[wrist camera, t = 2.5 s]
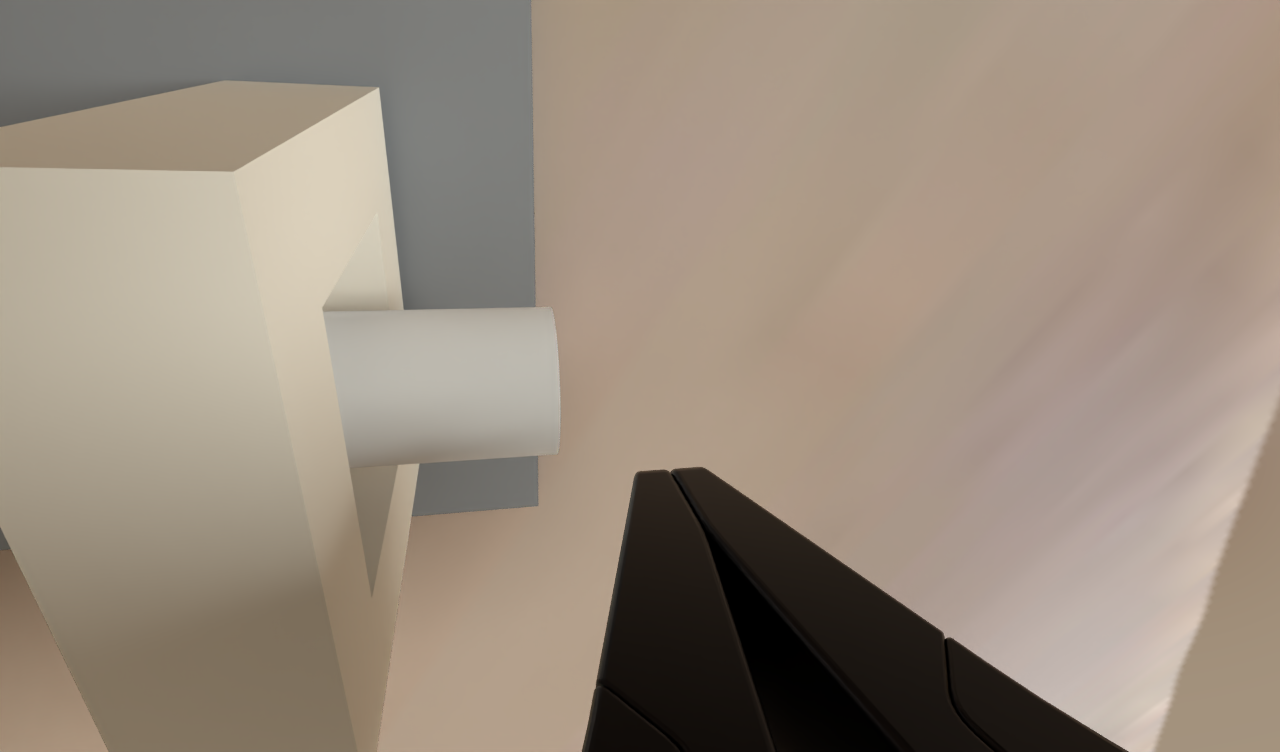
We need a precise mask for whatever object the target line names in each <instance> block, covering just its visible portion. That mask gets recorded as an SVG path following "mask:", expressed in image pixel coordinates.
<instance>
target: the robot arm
mask: <svg viewBox="0 0 1280 752" xmlns="http://www.w3.org/2000/svg"><path fill="white" fill-rule="evenodd" d="M582 752H1128V751H1127V750H1125V749H1123V748H1121V747H1120V746H1118V745H1116V744H1115V743H1113V742H1111V741H1110V740H1108V739H1106V738H1105V737H1103V736H1102V735H1100V734H1098V733H1097V732H1095V731H1094V730H1092V729H1090V728H1089V727H1087V726H1085V725H1084V724H1082V723H1081V722H1079V721H1077V720H1076V719H1074V718H1072V717H1071V716H1069V715H1068V714H1066V713H1064V712H1063V711H1061V710H1059V709H1058V708H1056V707H1055V706H1053V705H1051V704H1050V703H1048V702H1047V701H1045V700H1043V699H1042V698H1040V697H1039V696H1037V695H1036V694H1034V693H1033V692H1031V691H1030V690H1028V689H1027V688H1025V687H1024V686H1022V685H1021V684H1019V683H1018V682H1016V681H1015V680H1013V679H1011V678H1010V677H1008V676H1007V675H1005V674H1004V673H1002V672H1001V671H999V670H998V669H996V668H995V667H993V666H992V665H990V664H989V663H987V662H986V661H984V660H983V659H982V658H980V657H979V656H977V655H976V654H974V653H973V652H971V651H970V650H968V649H967V648H966V647H964V646H963V645H961V644H960V643H958V642H957V641H955V640H954V639H952V638H950V637H949V638H946V639H945V636H944V633H943V632H942V631H941V630H939V629H938V628H936V627H935V626H933V625H932V624H930V623H929V622H927V621H926V620H925V619H923V618H922V617H920V616H919V615H917V614H916V613H914V612H913V611H912V610H910V609H909V608H907V607H906V606H904V605H903V604H901V603H900V602H899V601H897V600H896V599H894V598H893V597H891V596H890V595H888V594H887V593H885V592H884V591H883V590H881V589H880V588H878V587H877V586H875V585H874V584H872V583H871V582H870V581H868V580H867V579H865V578H864V577H862V576H861V575H859V574H858V573H857V572H855V571H854V570H852V569H851V568H849V567H848V566H846V565H845V564H843V563H842V562H841V561H839V560H838V559H836V558H835V557H833V556H832V555H830V554H829V553H828V552H826V551H825V550H823V549H822V548H820V547H819V546H817V545H816V544H815V543H813V542H812V541H810V540H809V539H807V538H806V537H804V536H803V535H801V534H800V533H799V532H797V531H796V530H794V529H793V528H791V527H790V526H788V525H787V524H786V523H784V522H783V521H781V520H780V519H778V518H777V517H775V516H774V515H773V514H771V513H770V512H768V511H767V510H765V509H764V508H762V507H761V506H759V505H758V504H757V503H755V502H754V501H752V500H751V499H749V498H748V497H746V496H745V495H744V494H742V493H741V492H739V491H738V490H736V489H735V488H733V487H732V486H731V485H729V484H728V483H726V482H725V481H723V480H722V479H720V478H719V477H717V476H716V475H715V474H713V473H712V472H710V471H709V470H707V469H705V468H703V467H692V468H679V469H673V470H672V471H671V472H669V471H667V470H651V471H640V472H637V473H636V474H635V477H634V481H633V487H632V492H631V498H630V503H629V508H628V514H627V519H626V524H625V530H624V535H623V541H622V546H621V551H620V557H619V562H618V568H617V573H616V578H615V584H614V589H613V594H612V600H611V605H610V611H609V616H608V621H607V627H606V632H605V638H604V643H603V648H602V654H601V659H600V664H599V670H598V675H597V681H596V689H595V690H594V694H593V700H592V705H591V710H590V716H589V721H588V727H587V731H586V735H585V740H584V744H583V748H582Z"/></svg>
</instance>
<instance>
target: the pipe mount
mask: <svg viewBox="0 0 1280 752" xmlns="http://www.w3.org/2000/svg"><path fill="white" fill-rule="evenodd" d="M224 80H230V81H253V82H275V83H297V84H319V85H341V86H363V87H379V92H380V101H381V110H382V119H383V128H384V137H385V146H386V155H387V164H388V173H389V182H390V191H391V200H392V209H393V218H394V227H395V236H396V245H397V254H398V263H399V272H400V281H401V290H402V299H403V308H404V310H376V311H327V312H323V316H324V321H325V327H326V333H327V339H328V345H329V351H330V357H331V363H332V368H333V374H334V380H335V386H336V392H337V398H338V404H339V410H340V415H341V421H342V427H343V433H344V439H345V445H346V451H347V456H348V462H349V468H359V467H374V466H390V465H405V464H419V469H418V476H417V483H416V490H415V496H414V503H413V510H412V516H423V515H435V514H447V513H459V512H471V511H484V510H496V509H508V508H520V507H532V506H538V456H540V455H555V454H558V452H559V445H560V421H561V408H560V376H559V358H558V345H557V335H556V327H555V320H554V314H553V310H552V308H551V307H535V239H534V170H533V101H532V31H531V0H0V127H3V126H8V125H13V124H18V123H23V122H27V121H32V120H37V119H42V118H47V117H51V116H56V115H61V114H66V113H70V112H75V111H80V110H85V109H90V108H94V107H99V106H104V105H109V104H114V103H118V102H123V101H128V100H133V99H138V98H142V97H147V96H152V95H157V94H161V93H166V92H171V91H176V90H181V89H185V88H190V87H195V86H200V85H205V84H209V83H214V82H219V81H224ZM8 549H11V548H10V546H9V544H8V542H7V540H6V538H5V536H4V534H3V532H2V530H1V528H0V550H8Z"/></svg>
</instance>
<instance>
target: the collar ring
mask: <svg viewBox="0 0 1280 752" xmlns="http://www.w3.org/2000/svg"><path fill="white" fill-rule="evenodd" d="M376 310H404V308H403V299H402V290H401V281H400V272H399V263H398V254H397V245H396V236H395V227H394V218H393V209H392V200H391V191H390V182H389V173H388V164H387V155H386V146H385V137H384V128H383V119H382V110H381V101H380V92H379V87H363V86H341V85H319V84H297V83H275V82H253V81H230V80H224V81H219V82H214V83H209V84H205V85H200V86H195V87H190V88H185V89H181V90H176V91H171V92H166V93H161V94H157V95H152V96H147V97H142V98H138V99H133V100H128V101H123V102H118V103H114V104H109V105H104V106H99V107H94V108H90V109H85V110H80V111H75V112H70V113H66V114H61V115H56V116H51V117H47V118H42V119H37V120H32V121H27V122H23V123H18V124H13V125H8V126H3V127H0V528H1V530H2V532H3V534H4V536H5V538H6V540H7V542H8V544H9V546H10V548H11V550H12V552H13V555H14V557H15V559H16V561H17V563H18V565H19V567H20V569H21V571H22V573H23V575H24V577H25V579H26V581H27V583H28V586H29V588H30V590H31V592H32V594H33V596H34V598H35V600H36V602H37V604H38V606H39V608H40V610H41V612H42V615H43V617H44V619H45V621H46V623H47V625H48V627H49V629H50V631H51V633H52V635H53V637H54V639H55V641H56V644H57V646H58V648H59V650H60V652H61V654H62V656H63V658H64V660H65V662H66V664H67V666H68V668H69V670H70V673H71V675H72V677H73V679H74V681H75V683H76V685H77V687H78V689H79V691H80V693H81V695H82V697H83V699H84V701H85V704H86V706H87V708H88V710H89V712H90V714H91V716H92V718H93V720H94V722H95V724H96V726H97V728H98V730H99V733H100V735H101V737H102V739H103V741H104V743H105V745H106V747H107V749H108V751H109V752H377V747H378V740H379V733H380V726H381V720H382V713H383V706H384V699H385V693H386V686H387V679H388V672H389V666H390V659H391V652H392V645H393V638H394V632H395V625H396V618H397V611H398V605H399V598H400V591H401V584H402V578H403V571H404V564H405V557H406V551H407V544H408V537H409V530H410V523H411V517H412V510H413V503H414V496H415V490H416V483H417V476H418V469H419V464H405V465H390V466H374V467H359V468H349V462H348V456H347V451H346V445H345V439H344V433H343V427H342V421H341V415H340V410H339V404H338V398H337V392H336V386H335V380H334V374H333V368H332V363H331V357H330V351H329V345H328V339H327V333H326V327H325V321H324V316H323V312H327V311H376Z"/></svg>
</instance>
